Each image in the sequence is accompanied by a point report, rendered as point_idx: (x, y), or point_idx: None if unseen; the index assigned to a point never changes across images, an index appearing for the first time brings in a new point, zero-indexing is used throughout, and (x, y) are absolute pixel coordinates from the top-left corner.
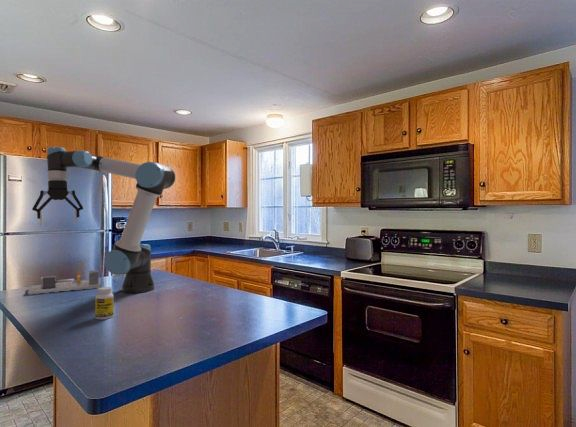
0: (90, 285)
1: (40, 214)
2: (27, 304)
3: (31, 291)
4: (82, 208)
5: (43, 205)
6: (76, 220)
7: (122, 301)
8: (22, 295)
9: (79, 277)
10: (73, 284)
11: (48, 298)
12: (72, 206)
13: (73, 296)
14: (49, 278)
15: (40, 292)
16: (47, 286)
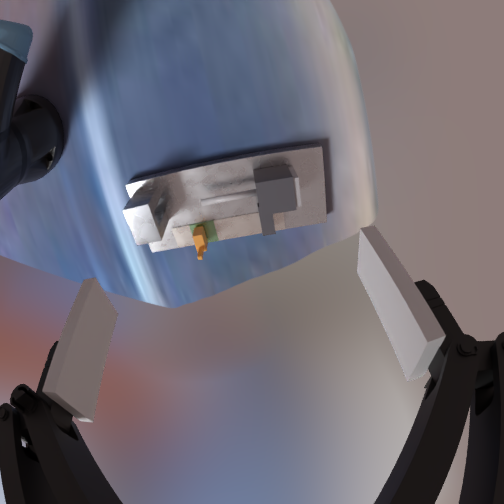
0: (152, 177)
1: (428, 309)
2: (293, 22)
3: (313, 147)
4: (1, 410)
5: (443, 431)
6: (74, 307)
7: (48, 8)
8: (333, 146)
9: (195, 234)
10: None
11: (251, 75)
12: (82, 461)
13: (180, 80)
14: (272, 178)
15: (289, 148)
16: (275, 168)
